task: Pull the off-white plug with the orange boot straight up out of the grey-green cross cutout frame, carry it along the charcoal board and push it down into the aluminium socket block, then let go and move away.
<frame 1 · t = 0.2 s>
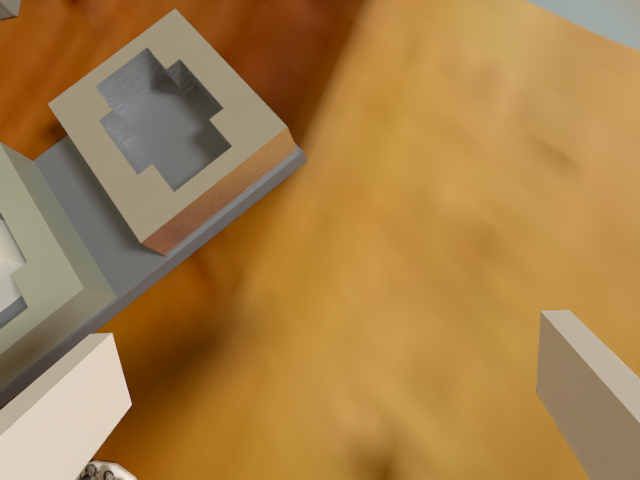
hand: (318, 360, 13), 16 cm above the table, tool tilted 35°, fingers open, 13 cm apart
grey-green cross cutout frame: (23, 279, 34), resting on board
socket: (190, 149, 35), resting on board
board: (108, 213, 35), on the table
plug: (7, 275, 33), point 1 cm above the table, touching board
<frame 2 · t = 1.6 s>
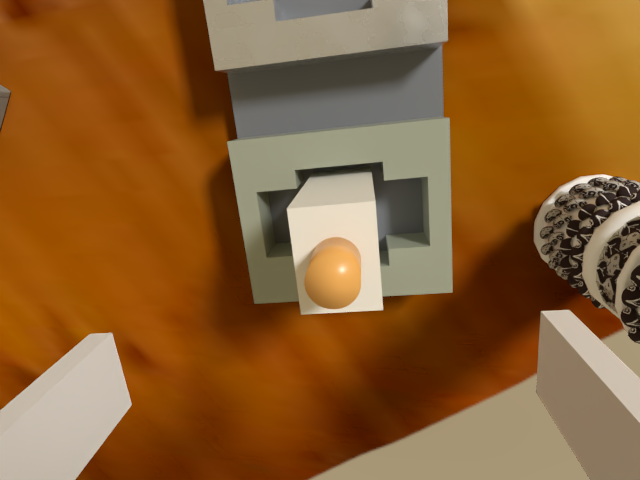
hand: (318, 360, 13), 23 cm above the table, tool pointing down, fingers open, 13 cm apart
grey-green cross cutout frame: (345, 203, 35), resting on board
decorative candle: (586, 226, 34), on the table
board: (335, 95, 33), on the table
plug: (345, 207, 34), point 1 cm above the table, touching board
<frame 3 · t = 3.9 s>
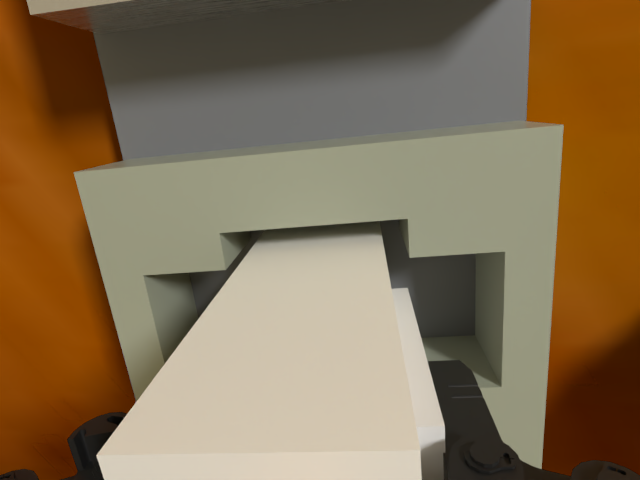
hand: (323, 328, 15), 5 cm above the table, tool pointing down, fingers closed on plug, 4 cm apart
grey-green cross cutout frame: (331, 276, 19), resting on board
board: (311, 79, 17), on the table
plug: (329, 289, 18), point 2 cm above the table, touching board, gripper
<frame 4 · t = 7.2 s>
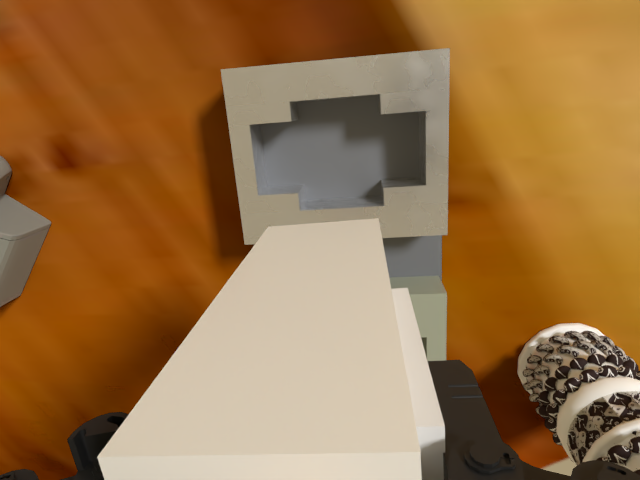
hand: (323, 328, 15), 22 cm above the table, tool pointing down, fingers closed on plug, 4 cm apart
grey-green cross cutout frame: (352, 334, 39), resting on board
decorative candle: (563, 363, 39), on the table
socket: (340, 148, 34), resting on board
board: (347, 247, 37), on the table
plug: (329, 290, 18), point 18 cm above the table, touching gripper
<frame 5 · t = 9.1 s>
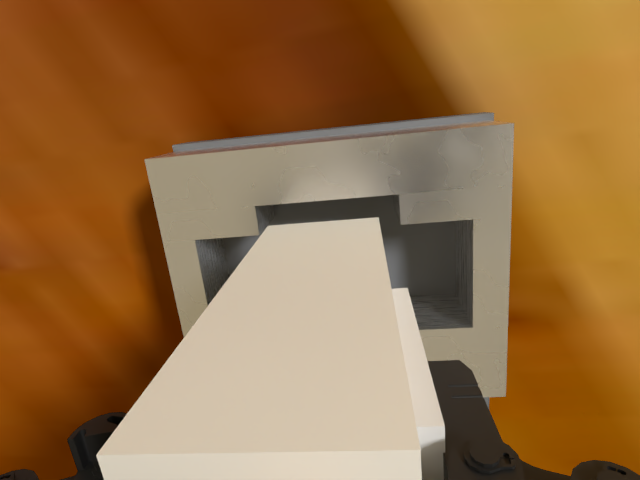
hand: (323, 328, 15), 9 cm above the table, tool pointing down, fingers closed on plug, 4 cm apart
socket: (339, 248, 24), resting on board
board: (351, 378, 26), on the table
plug: (329, 289, 18), point 6 cm above the table, touching gripper
when the fingers open (6 cm above the table, at t = 10.6 s): plug drops 1 cm, resting on board.
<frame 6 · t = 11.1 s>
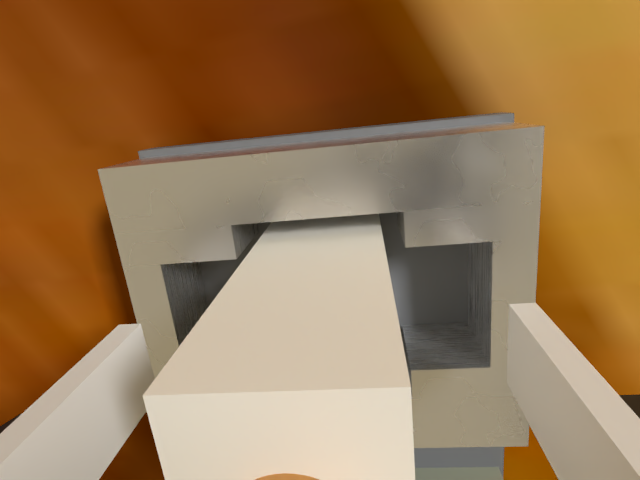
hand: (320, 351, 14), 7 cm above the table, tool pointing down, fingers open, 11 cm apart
socket: (333, 267, 21), resting on board
board: (347, 412, 23), on the table
plug: (332, 277, 19), point 1 cm above the table, touching board
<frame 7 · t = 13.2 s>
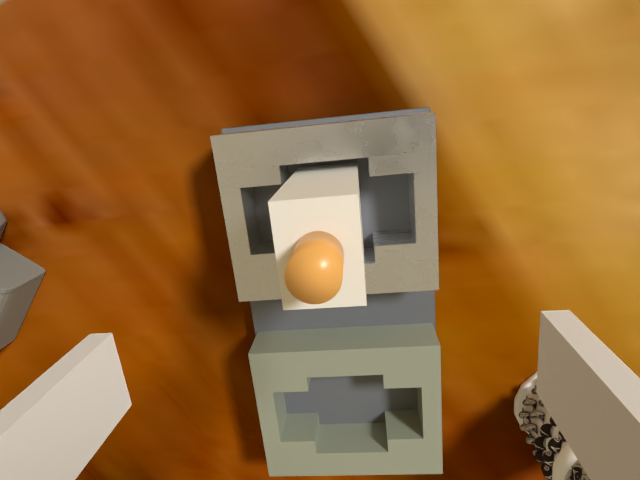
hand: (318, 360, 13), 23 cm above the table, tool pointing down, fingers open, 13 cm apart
grey-green cross cutout frame: (349, 378, 40), resting on board
decorative candle: (559, 402, 39), on the table
socket: (332, 200, 35), resting on board
board: (341, 295, 37), on the table
plug: (331, 203, 33), point 1 cm above the table, touching board
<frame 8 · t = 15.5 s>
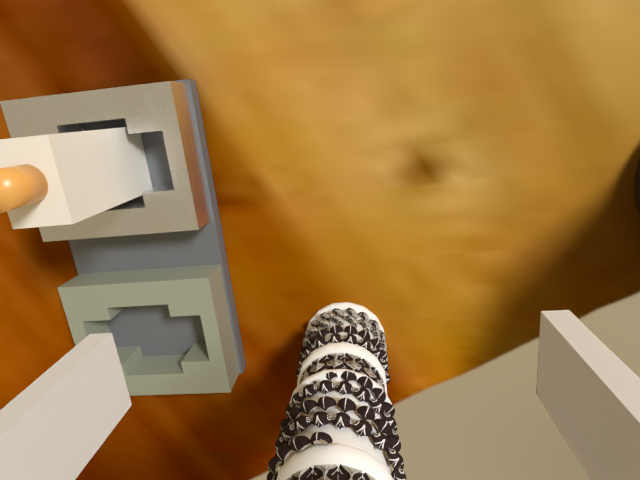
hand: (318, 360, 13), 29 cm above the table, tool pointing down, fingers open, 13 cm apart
grey-green cross cutout frame: (167, 317, 46), resting on board
decorative candle: (344, 337, 45), on the table
socket: (131, 160, 41), resting on board
board: (150, 243, 44), on the table
plug: (123, 161, 40), point 1 cm above the table, touching board
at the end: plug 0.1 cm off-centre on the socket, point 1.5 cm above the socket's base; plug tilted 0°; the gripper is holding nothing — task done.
